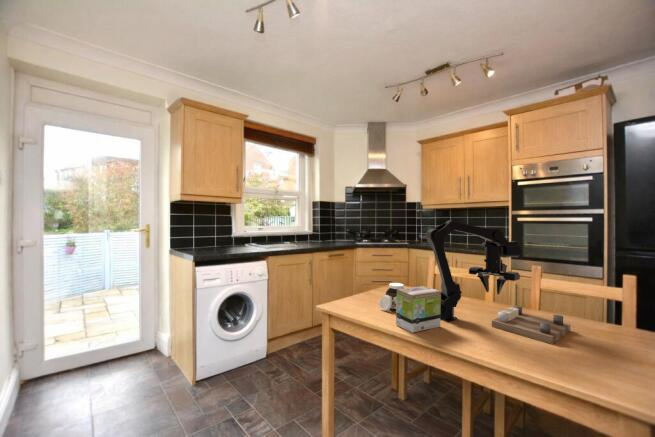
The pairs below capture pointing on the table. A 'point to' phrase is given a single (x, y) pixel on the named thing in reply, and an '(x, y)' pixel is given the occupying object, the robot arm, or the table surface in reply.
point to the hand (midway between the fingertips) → (493, 293)
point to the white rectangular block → (507, 314)
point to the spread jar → (390, 297)
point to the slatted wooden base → (535, 326)
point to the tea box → (418, 308)
